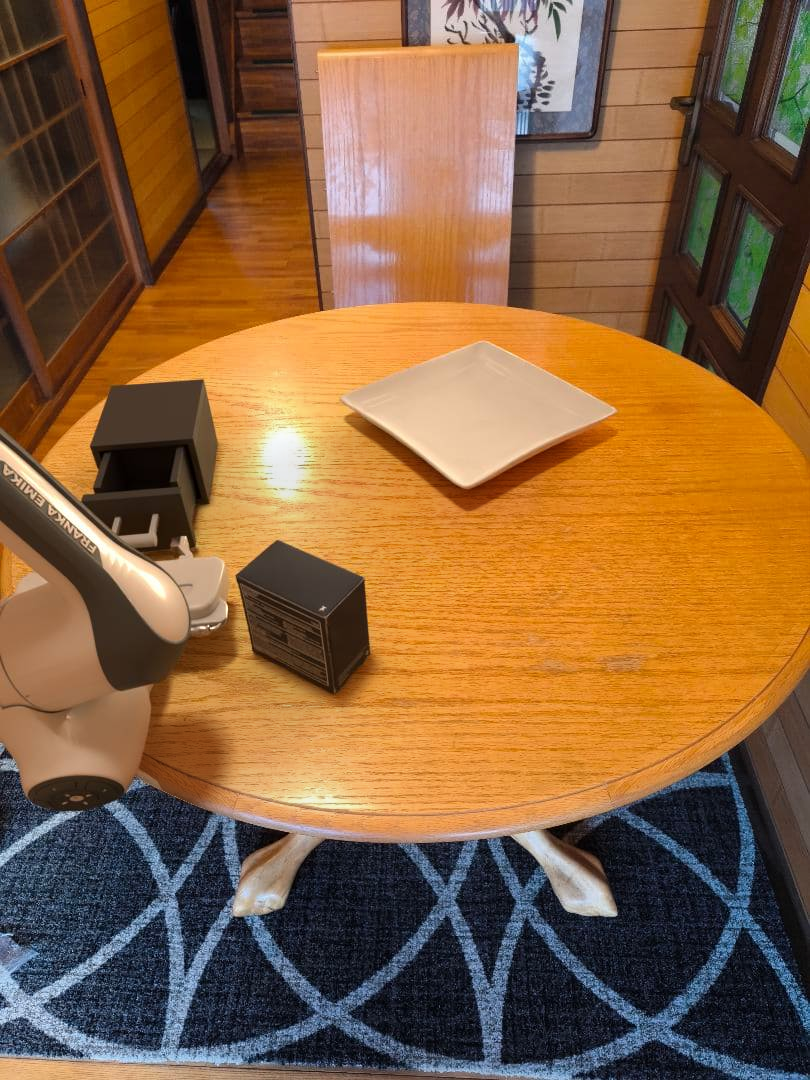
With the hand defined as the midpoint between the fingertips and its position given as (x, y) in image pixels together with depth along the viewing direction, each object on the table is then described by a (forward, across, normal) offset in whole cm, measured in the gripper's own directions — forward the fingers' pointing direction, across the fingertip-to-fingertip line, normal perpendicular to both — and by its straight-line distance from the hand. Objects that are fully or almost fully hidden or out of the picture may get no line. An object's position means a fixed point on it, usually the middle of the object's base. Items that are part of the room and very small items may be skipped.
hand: (136, 544), depth 81 cm
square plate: (+25, -41, +5) cm, 48 cm away
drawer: (+7, 0, +4) cm, 8 cm away
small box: (-13, -18, +5) cm, 23 cm away
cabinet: (+19, 0, +5) cm, 19 cm away
